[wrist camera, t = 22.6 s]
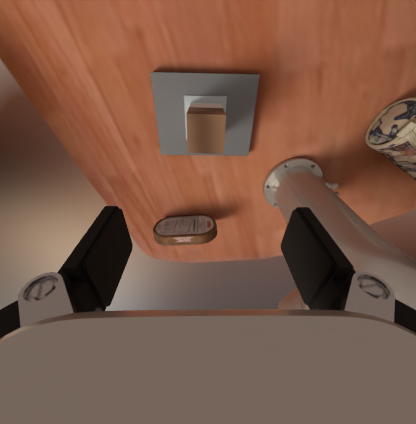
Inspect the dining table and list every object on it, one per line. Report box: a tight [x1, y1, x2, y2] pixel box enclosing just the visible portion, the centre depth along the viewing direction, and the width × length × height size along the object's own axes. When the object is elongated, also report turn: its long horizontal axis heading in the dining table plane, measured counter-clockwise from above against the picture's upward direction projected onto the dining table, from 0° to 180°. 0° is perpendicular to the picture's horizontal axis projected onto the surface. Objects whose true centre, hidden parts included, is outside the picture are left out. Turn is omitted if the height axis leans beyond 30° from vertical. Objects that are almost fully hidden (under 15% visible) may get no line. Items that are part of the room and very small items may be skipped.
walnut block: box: [186, 107, 226, 154], centre depth 28 cm, size 5×5×5 cm
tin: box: [153, 215, 217, 246], centre depth 46 cm, size 15×3×8 cm, turn 94°
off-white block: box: [189, 103, 223, 108], centre depth 32 cm, size 5×5×5 cm
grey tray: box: [151, 72, 260, 156], centre depth 35 cm, size 17×13×2 cm
